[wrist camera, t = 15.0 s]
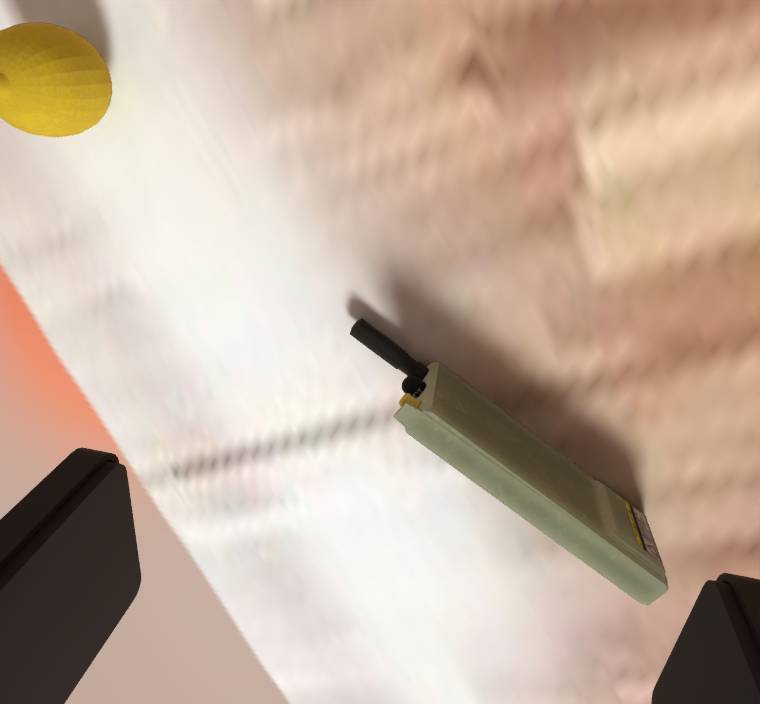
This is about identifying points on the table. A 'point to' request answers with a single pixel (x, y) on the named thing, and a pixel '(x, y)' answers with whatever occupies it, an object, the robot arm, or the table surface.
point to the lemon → (51, 80)
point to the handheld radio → (523, 472)
